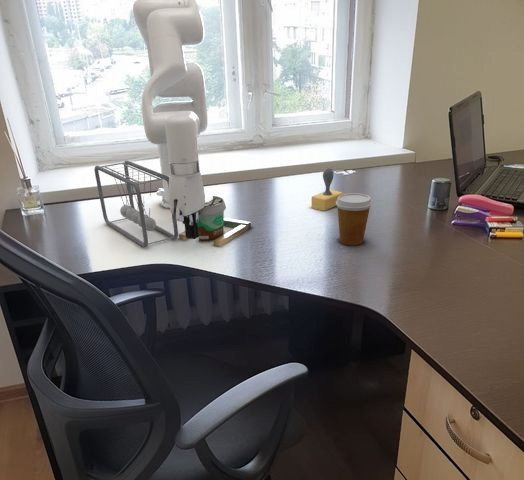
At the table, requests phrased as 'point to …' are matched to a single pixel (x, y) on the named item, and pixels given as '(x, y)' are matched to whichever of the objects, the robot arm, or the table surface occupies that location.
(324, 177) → the rubber stamp
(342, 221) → the disposable coffee cup
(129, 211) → the newton's cradle
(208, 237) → the food container
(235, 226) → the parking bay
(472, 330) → the table surface
